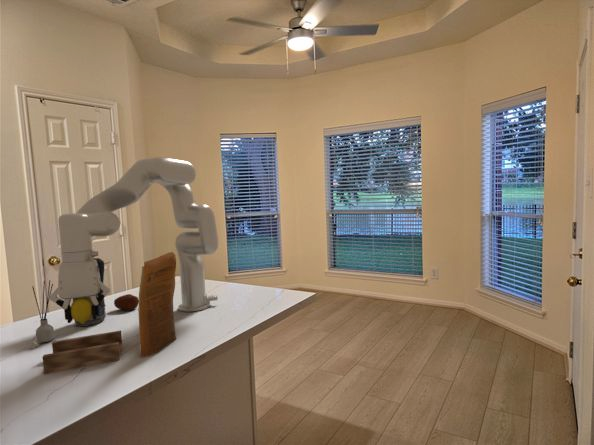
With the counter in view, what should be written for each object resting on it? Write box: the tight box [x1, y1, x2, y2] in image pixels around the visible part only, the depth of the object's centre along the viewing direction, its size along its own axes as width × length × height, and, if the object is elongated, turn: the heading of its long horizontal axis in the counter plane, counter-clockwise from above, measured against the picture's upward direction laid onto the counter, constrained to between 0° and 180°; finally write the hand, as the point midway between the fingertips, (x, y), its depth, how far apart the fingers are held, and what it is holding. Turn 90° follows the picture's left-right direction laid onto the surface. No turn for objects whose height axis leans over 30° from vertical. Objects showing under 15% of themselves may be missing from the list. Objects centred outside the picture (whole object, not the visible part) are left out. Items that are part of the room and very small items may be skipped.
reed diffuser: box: [29, 280, 55, 349], centre depth 117 cm, size 10×7×20 cm
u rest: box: [41, 330, 123, 375], centre depth 104 cm, size 18×12×5 cm, turn 112°
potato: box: [113, 293, 139, 311], centre depth 150 cm, size 7×9×6 cm
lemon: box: [70, 297, 92, 324], centre depth 103 cm, size 6×6×8 cm
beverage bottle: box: [72, 257, 107, 327], centre depth 135 cm, size 10×13×25 cm
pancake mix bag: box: [137, 251, 177, 358], centre depth 110 cm, size 7×19×28 cm, turn 165°
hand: (82, 319), depth 103 cm, fingers closed on lemon, 5 cm apart
